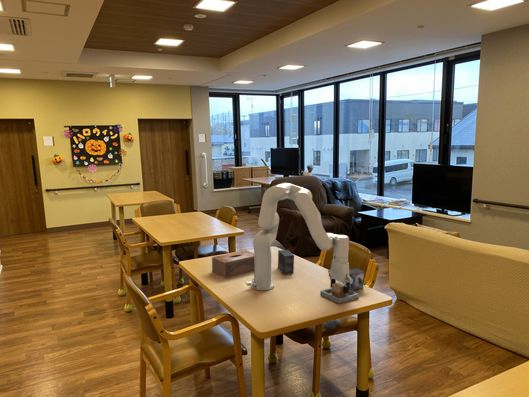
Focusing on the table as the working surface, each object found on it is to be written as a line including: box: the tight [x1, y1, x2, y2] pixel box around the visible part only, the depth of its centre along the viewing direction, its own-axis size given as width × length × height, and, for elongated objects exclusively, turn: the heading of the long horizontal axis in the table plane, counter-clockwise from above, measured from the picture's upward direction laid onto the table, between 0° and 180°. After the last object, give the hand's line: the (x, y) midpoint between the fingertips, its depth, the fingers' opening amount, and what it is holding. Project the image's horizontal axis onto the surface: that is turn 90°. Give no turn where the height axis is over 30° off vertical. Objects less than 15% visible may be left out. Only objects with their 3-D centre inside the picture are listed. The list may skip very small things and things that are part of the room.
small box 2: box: [341, 268, 365, 292], centre depth 213 cm, size 11×6×10 cm, turn 117°
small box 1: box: [277, 249, 295, 275], centre depth 242 cm, size 13×7×12 cm, turn 14°
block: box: [332, 281, 347, 298], centre depth 202 cm, size 6×6×6 cm
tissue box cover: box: [211, 249, 254, 279], centre depth 241 cm, size 26×14×10 cm, turn 129°
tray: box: [319, 287, 359, 305], centre depth 203 cm, size 14×14×2 cm
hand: (339, 290), depth 202 cm, fingers open, 9 cm apart
